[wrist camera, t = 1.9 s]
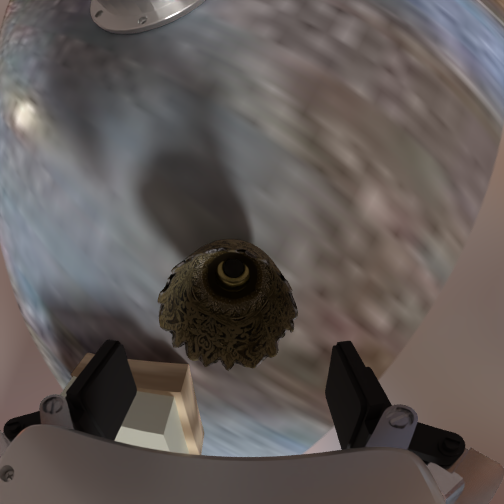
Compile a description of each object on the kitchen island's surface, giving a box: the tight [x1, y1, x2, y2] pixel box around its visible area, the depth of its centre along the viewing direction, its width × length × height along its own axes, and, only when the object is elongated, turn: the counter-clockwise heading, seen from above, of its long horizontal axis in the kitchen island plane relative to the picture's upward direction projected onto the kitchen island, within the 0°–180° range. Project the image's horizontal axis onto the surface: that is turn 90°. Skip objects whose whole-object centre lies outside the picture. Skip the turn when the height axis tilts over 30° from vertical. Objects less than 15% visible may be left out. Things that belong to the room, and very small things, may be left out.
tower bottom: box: [71, 353, 204, 455], centre depth 24 cm, size 12×12×4 cm
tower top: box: [60, 376, 189, 454], centre depth 20 cm, size 11×11×4 cm
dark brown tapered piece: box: [158, 239, 298, 371], centre depth 18 cm, size 8×7×8 cm
